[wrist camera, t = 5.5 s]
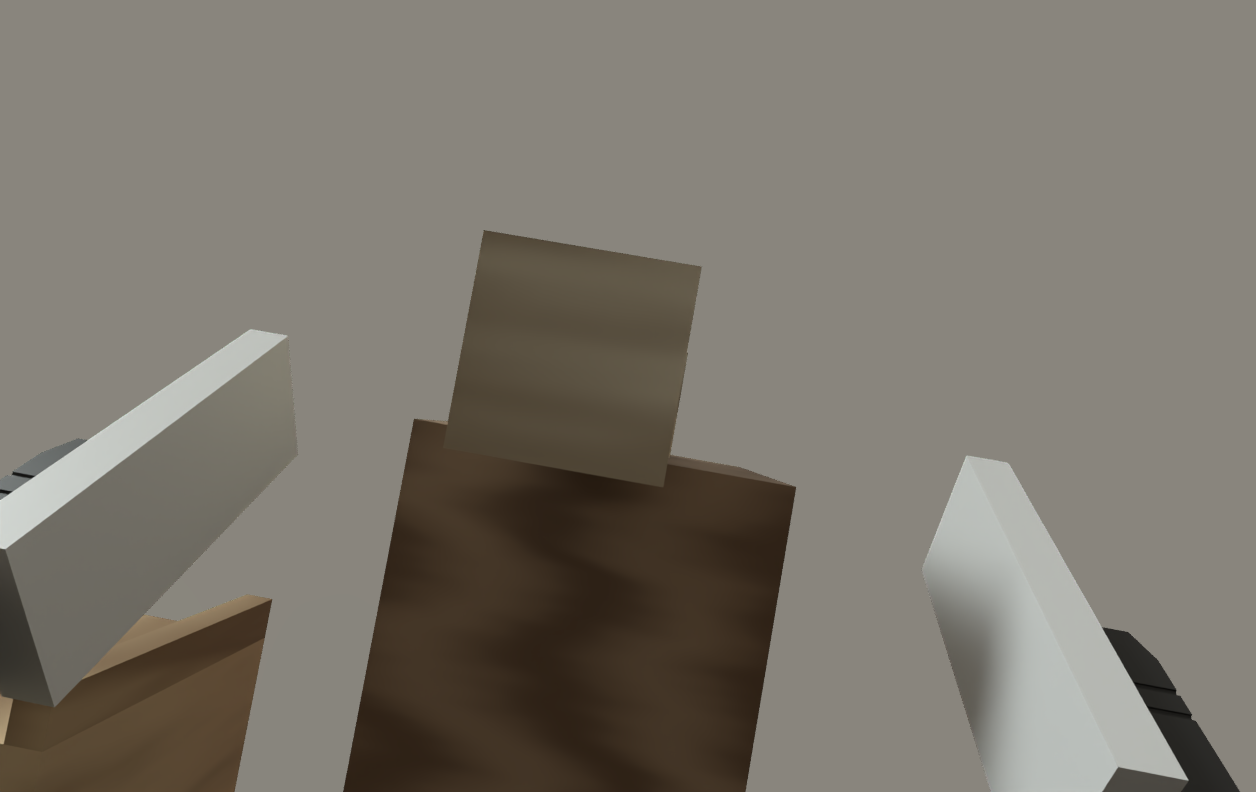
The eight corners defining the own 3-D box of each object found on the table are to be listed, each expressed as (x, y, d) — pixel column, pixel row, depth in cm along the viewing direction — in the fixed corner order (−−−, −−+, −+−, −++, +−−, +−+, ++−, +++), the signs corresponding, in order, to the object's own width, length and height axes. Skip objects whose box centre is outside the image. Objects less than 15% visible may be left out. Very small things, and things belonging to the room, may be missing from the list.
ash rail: (576, 438, 38) (592, 348, 38) (667, 455, 38) (683, 364, 38) (412, 441, 12) (464, 164, 12) (695, 493, 12) (743, 210, 12)
